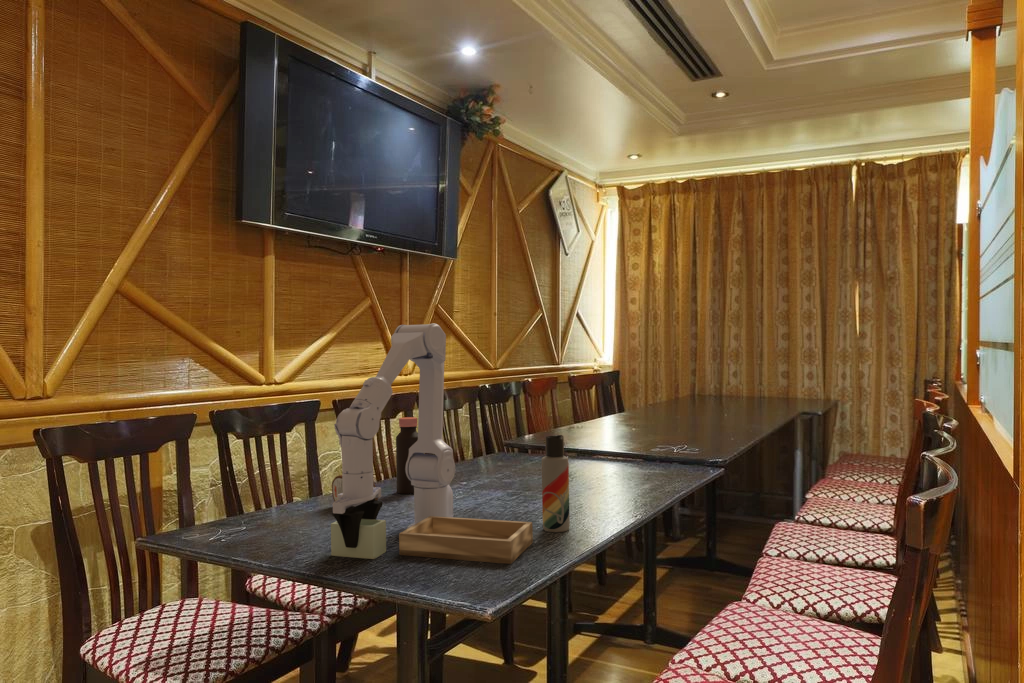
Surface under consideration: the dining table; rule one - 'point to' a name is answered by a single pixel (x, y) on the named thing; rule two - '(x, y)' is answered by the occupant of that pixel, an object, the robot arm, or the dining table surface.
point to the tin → (339, 487)
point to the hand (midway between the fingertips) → (358, 543)
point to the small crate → (361, 540)
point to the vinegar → (405, 452)
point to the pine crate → (467, 539)
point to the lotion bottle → (555, 486)
